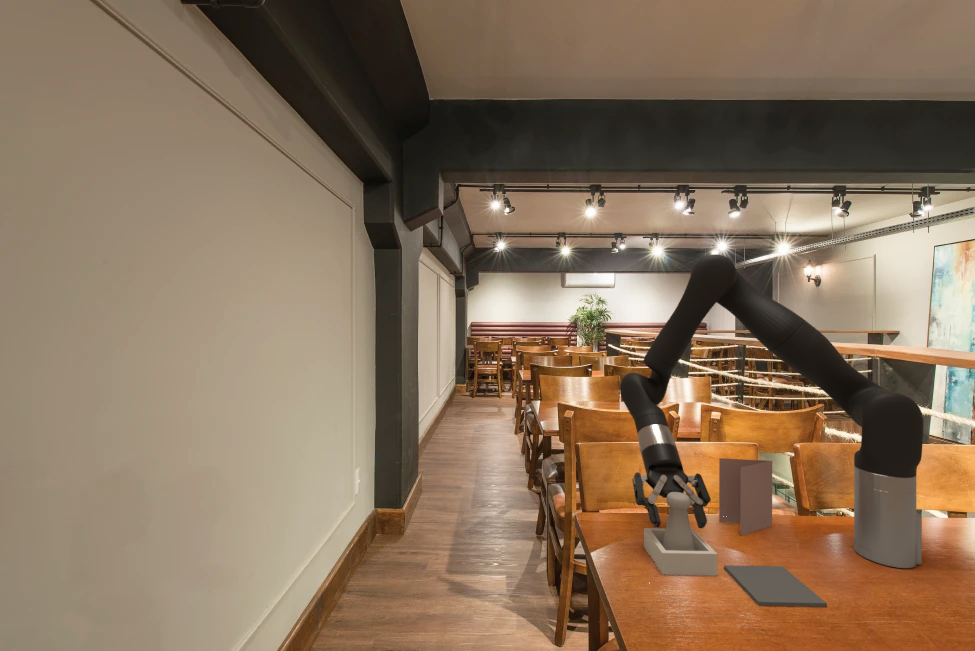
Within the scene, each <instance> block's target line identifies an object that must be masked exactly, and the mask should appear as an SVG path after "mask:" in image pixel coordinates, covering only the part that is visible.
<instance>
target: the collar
mask: <svg viewBox="0 0 975 651" xmlns="http://www.w3.org/2000/svg"><path fill="white" fill-rule="evenodd" d="M665 530H666V527H662V528H661V527H644V528H643V548H644V550H645V549H646V550H645V551H646V553H647V552H648V553H647V554H648V556H649V555H650V556H651V557H650V556H649V557H650V558H652V559H653V560H652V559H651V560H652V562H653V561H654V562H655V563H654V562H653V563H654V565H655V564H656V565H655V566H656V567H658V568H657V569H658V570H660V571H659V572H660V574H661V573H662V574H661V575H662V576H664V574H665V576H710V577H711V576H712V577H713V576H714V577H715V576H716V577H717V576H718V553H717V552H716V551H715V550H714V549H713V548H712V547H711V546H710V544H708V542H706V541H705V540H704V539H703V537H701V536H700V534H699V533H698V532H696V530H695V529H693V528H691V533H692V538H693V544H694V549H695V551H676V550H665V549H664V547H663V540H664V535H665Z"/></svg>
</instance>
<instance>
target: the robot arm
mask: <svg viewBox="0 0 975 651" xmlns="http://www.w3.org/2000/svg"><path fill="white" fill-rule="evenodd" d="M716 303H717V304H718V305H720V306H721V307H722V308H724V309H725V310H727V311H728V312H729V313H730V314H732V315H733V316H734V317H735V318H736V319H737V320H738V321H739V322H740V323H741V324H742V325H743V327H745V328H746V330H747V331H749V333H750V334H751V335H752V336H753V337H754V338H755V339H756V340H758V341H759V342H760V343H761V344H762V346H763V347H764V348H766V349H767V350H768V351H769V352H771V353H772V354H773V355H774V356H776V357H777V359H779V360H780V361H782V362H783V363H784V364H785V365H786V366H788V367H789V368H791V369H792V370H793V371H795V372H797V373H798V374H799V375H800V376H802V377H803V378H805V379H806V380H808V381H809V382H811V383H813V384H814V385H815V386H817V387H819V388H820V389H821V390H822V391H823V392H824V393H825V394H826V395H827V396H829V397H830V398H831V399H832V400H833V401H834V402H835V404H837V405H838V406H839V407H840V408H841V409H842V410H843V411H844V412H845V413H846V415H848V416H849V418H850V419H852V421H853V422H854V423H855V424H856V425H858V426H859V427H860V428H861V443H860V448H859V450H856V451H855V453H854V458H853V463H854V464H853V470H854V471H853V478H854V479H853V480H854V484H853V486H854V488H853V490H854V491H853V496H854V498H853V502H854V504H853V506H854V508H853V509H854V510H853V526H854V527H853V550H854V551H855V552H856V553H857V554H859V555H860V556H861V557H863V558H864V559H868V561H869V560H870V561H872V562H875V563H878V564H880V565H883V566H887V567H888V566H889V567H894V568H898V569H912V568H916V566H917V565H922V564H923V563H922V560H923V559H922V558H923V557H922V556H923V555H922V554H923V546H922V545H923V541H922V540H923V538H922V536H923V526H922V524H923V516H922V515H921V514H920V513H919V512H917V472H918V466H920V463H921V461H922V457H923V443H924V442H923V440H924V418H923V417H924V416H923V413H922V410H921V408H920V406H919V405H918V403H917V402H916V401H915V400H913V398H911V397H909V396H907V395H905V394H902V393H899V392H896V391H892V390H888V389H886V388H884V387H883V386H880V385H879V384H877V383H876V382H874V381H873V380H871V379H870V378H868V377H866V376H865V375H864V374H862V373H861V372H859V371H858V370H857V369H855V367H853V366H852V365H851V364H849V363H848V362H847V360H846V359H845V358H844V357H843V356H842V355H841V353H840V352H839V351H838V349H837V348H836V347H835V345H833V344H832V342H831V341H830V340H829V339H828V337H826V336H825V335H824V334H823V333H822V332H821V331H820V330H818V329H817V328H816V327H815V326H813V325H812V324H811V323H809V322H808V321H807V320H805V319H804V318H803V317H801V316H800V315H799V314H798V313H796V312H794V311H793V310H791V309H789V308H788V307H787V306H784V305H783V304H781V303H780V302H778V301H776V300H775V299H773V298H771V297H769V296H768V295H765V294H764V293H762V292H761V291H759V290H758V289H757V288H755V287H754V286H753V285H752V284H751V283H750V282H749V281H748V280H747V279H745V277H743V275H742V274H740V272H739V271H737V268H736V265H735V264H734V262H733V261H732V260H731V259H730V258H728V257H727V256H725V255H722V254H709V255H705V256H703V257H701V258H700V259H699V260H697V261H696V262H695V264H694V265H693V266H692V269H691V272H690V277H689V279H688V282H687V285H686V287H685V290H684V293H683V294H682V296H681V299H680V300H679V302H678V304H677V305H676V308H675V309H674V310H673V312H672V314H671V315H670V317H669V318H668V320H667V321H666V322H665V324H664V326H663V327H662V328H661V330H660V331H659V332H658V335H657V336H656V337H655V339H654V340H653V342H652V344H651V346H650V347H649V348H648V350H647V352H646V353H645V355H644V358H643V363H644V364H645V366H646V367H648V369H650V370H651V372H650V373H651V374H650V376H649V377H648V376H646V375H643V374H640V373H637V372H628V373H626V374H625V375H624V376H623V377H622V379H621V380H620V385H619V392H620V396H621V398H622V401H623V403H624V405H625V407H626V408H627V411H628V413H629V414H630V416H631V417H632V419H633V421H634V425H635V429H636V433H637V438H638V445H639V446H638V447H639V451H640V454H641V458H642V463H643V465H644V470H645V473H646V474H641V473H640V472H639V471H638V472H635V473H634V476H633V477H632V485H633V486H632V487H633V492H634V499H635V503H636V504H635V505H637V506H643V507H645V508H646V511H647V514H648V519H649V522H650V524H651V525H653V526H654V527H653V528H660V526H661V522H662V520H661V518H660V515H659V510H658V506H657V504H656V500H657V499H658V496H660V497H662V498H664V499H665V498H666V499H667V495H668V494H669V493H670V492H680V493H684V494H686V495H687V496H688V497H689V498H690V502H691V505H690V507H692V512H693V515H694V518H695V521H696V525H697V528H698V529H704V528H705V527H706V525H707V523H708V518H707V515H706V513H705V512H706V511H705V509H704V508H705V507H707V506H708V504H710V502H711V497H710V494H709V491H708V489H707V486H706V484H705V481H704V479H703V476H702V475H701V474H700V473H695V475H687V474H686V473H685V471H684V467H683V464H682V460H681V457H680V454H679V451H678V447H677V445H676V441H675V439H674V435H673V434H672V432H671V429H670V426H669V423H668V420H667V417H666V414H665V412H664V410H663V409H662V408H661V407H660V406H658V405H660V404H661V402H662V401H663V400H664V399H665V396H666V393H667V389H668V386H669V382H670V380H671V376H672V373H673V370H674V369H675V367H676V366H677V364H678V362H679V361H680V359H681V358H682V357H683V354H684V353H685V351H686V350H687V348H688V346H689V344H690V343H691V341H692V338H693V337H694V336H695V334H696V333H697V330H698V328H699V326H700V325H701V324H702V322H703V320H704V319H705V318H706V316H707V315H708V313H709V312H710V311H711V309H712V308H713V307H714V306H715V305H716ZM645 483H647V485H649V487H650V488H652V489H653V490H652V491H651V494H650V495H649V497H645V492H644V486H645ZM688 483H689V484H690V485H691V487H692V488H694V490H693V489H692V488H691V487H690V486H689V485H688ZM695 493H696V494H695Z"/></svg>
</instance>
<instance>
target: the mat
mask: <svg viewBox="0 0 975 651" xmlns="http://www.w3.org/2000/svg"><path fill="white" fill-rule="evenodd" d="M723 569H724V571H726V572H727V573H728V575H729V576H730V577H732V579H733V580H734V581H735V582H736V583H737V584H738V585H739V586H740V588H742V589H743V590H744V592H746V594H747V595H748V596H749V597H750V598H751V599H752V600H753V601H754V602H755V604H757V605H758V606H760V607H761V606H765V607H766V606H769V607H771V606H772V607H812V608H815V607H816V608H821V607H823V608H827V607H828V603H827V602H826V601H825V600H824V599H822V598H821V597H820V596H819V595H818V594H816V593H815V592H814V591H813V590H812V589H811V588H810V587H808V586H807V585H806V584H804V583H803V582H802V580H800V579H799V578H797V577H796V576H795V575H794V574H793V573H791V571H789V570H788V569H787V568H786V567H785V566H781V565H779V566H778V565H773V566H772V565H770V566H769V565H723Z"/></svg>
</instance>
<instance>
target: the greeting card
mask: <svg viewBox="0 0 975 651" xmlns="http://www.w3.org/2000/svg"><path fill="white" fill-rule="evenodd" d="M718 462H719V466H718V467H719V468H718V470H719V471H718V472H719V473H718V474H719V475H718V476H719V477H718V478H719V480H718V481H719V483H718V484H719V487H718V489H719V492H718V493H719V495H718V499H719V500H718V503H719V504H718V506H719V507H718V513H719V514H718V516H719V517H718V519H719V520H718V522H719V523H722V522H723V523H727V524H740V528H739V529H740V530H739V532H740V537H742V536H746V535H749V534H751V533H755V532H758V531H760V530H763V529H766V528H769V527H772V526H773V460H766V459H763V460H761V459H745V458H744V459H743V458H741V459H740V458H725V457H724V458H719V461H718ZM723 516H724V517H723ZM726 516H727V517H726ZM723 523H722V524H723Z"/></svg>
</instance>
